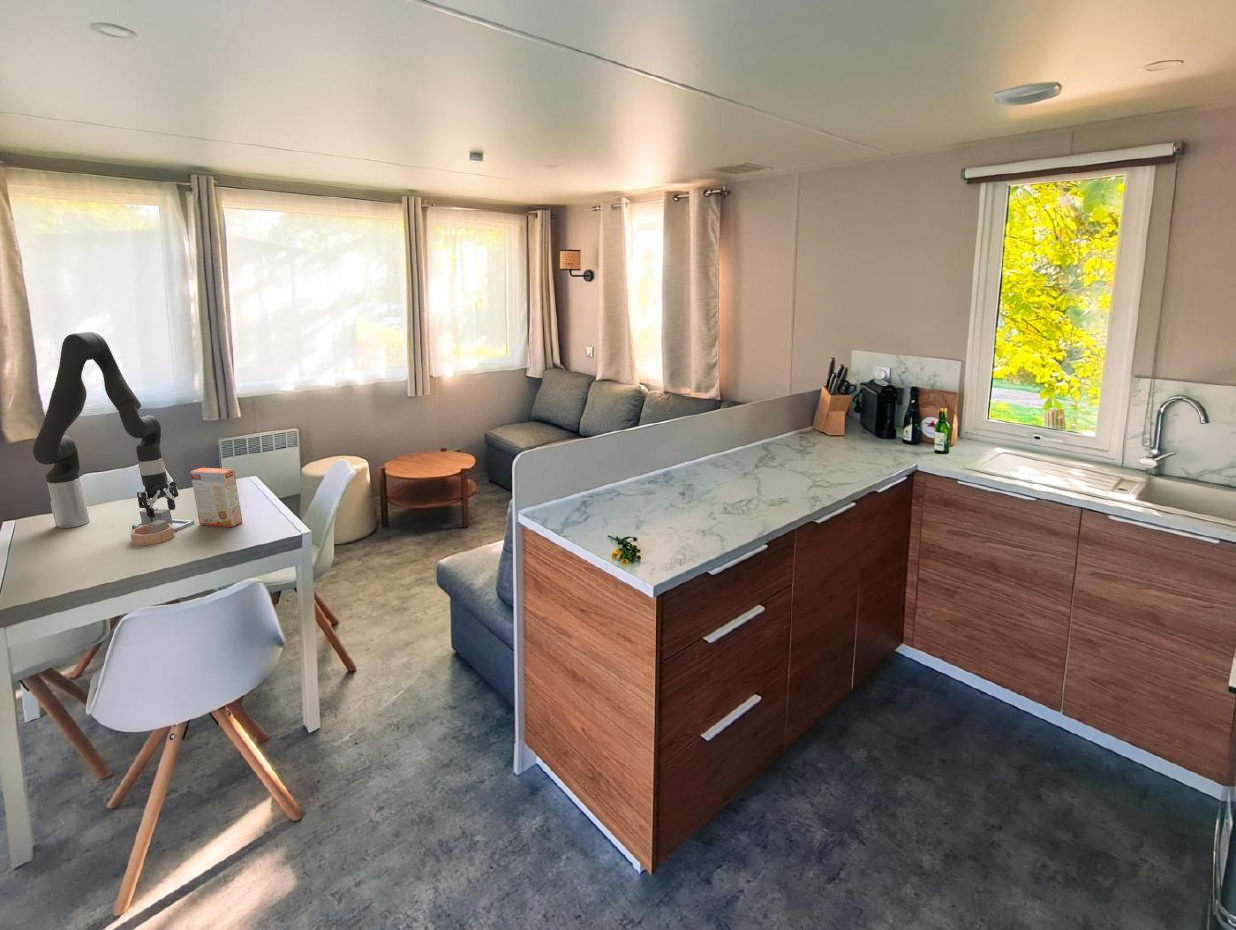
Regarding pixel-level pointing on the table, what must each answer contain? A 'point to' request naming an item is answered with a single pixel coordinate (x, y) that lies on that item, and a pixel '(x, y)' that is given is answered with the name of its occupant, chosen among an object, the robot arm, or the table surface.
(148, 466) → the robot arm
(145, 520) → the gray block
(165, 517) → the gray rectangular block
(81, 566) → the table surface
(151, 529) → the grey rectangular block
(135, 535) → the bowl
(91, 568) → the table surface
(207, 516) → the cracker box
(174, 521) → the tray
